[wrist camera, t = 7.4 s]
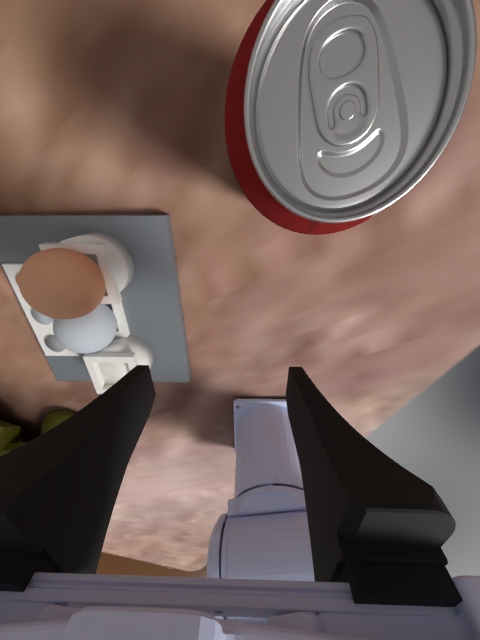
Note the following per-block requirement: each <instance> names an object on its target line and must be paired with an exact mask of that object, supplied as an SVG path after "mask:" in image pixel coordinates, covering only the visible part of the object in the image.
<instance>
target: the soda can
mask: <svg viewBox="0 0 480 640" xmlns="http://www.w3.org/2000/svg"><path fill="white" fill-rule="evenodd" d="M476 51H477V26H476V18H475V10H474V6H473V1H472V0H266V2H265V3H264V4H263V6H262V7H261V8H260V10H259V11H258V13H257V14H256V16H255V17H254V19H253V21H252V22H251V24H250V26H249V27H248V29H247V31H246V33H245V36H244V38H243V40H242V42H241V44H240V47H239V49H238V52H237V54H236V57H235V60H234V63H233V66H232V70H231V74H230V78H229V82H228V88H227V94H226V102H225V136H226V144H227V150H228V155H229V159H230V163H231V166H232V169H233V172H234V174H235V177H236V179H237V181H238V183H239V185H240V187H241V189H242V191H243V192H244V194H245V195H246V197H247V198H248V200H249V201H250V202H251V203H252V205H253V206H254V207H255V208H256V209H257V210H258V211H259V212H260V213H261V214H262V215H263V216H265V217H266V218H267V219H269V220H270V221H272V222H273V223H275V224H276V225H278V226H281V227H283V228H285V229H288V230H290V231H294V232H298V233H303V234H315V235H319V234H329V233H335V232H339V231H343V230H346V229H349V228H351V227H354V226H356V225H358V224H360V223H363V222H364V221H366V220H368V219H370V218H371V217H373V216H374V215H376V214H377V213H379V212H380V211H382V210H383V209H385V208H387V207H389V206H390V205H392V204H393V203H395V202H396V201H398V200H399V199H401V198H402V197H403V196H404V195H406V194H407V193H408V192H409V191H410V190H411V189H412V188H413V187H415V186H416V185H417V184H418V183H419V182H420V181H421V179H422V178H423V177H424V176H425V175H426V174H427V173H428V172H429V170H430V169H431V168H432V167H433V165H434V164H435V163H436V161H437V160H438V159H439V157H440V156H441V154H442V153H443V151H444V150H445V148H446V146H447V145H448V143H449V141H450V139H451V137H452V136H453V134H454V132H455V130H456V128H457V125H458V123H459V121H460V119H461V116H462V114H463V111H464V108H465V105H466V103H467V99H468V96H469V92H470V89H471V85H472V80H473V75H474V69H475V62H476Z"/></svg>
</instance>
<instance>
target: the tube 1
mask: <svg viewBox="0 0 480 640" xmlns="http://www.w3.org/2000/svg"><path fill="white" fill-rule="evenodd" d="M39 247H40V250H41V251H42V250H46V249H50V248H66V249H71V250H75V251H77V252H80V253H82V254H84V255H86V256H87V257H89V258H90V259H91V260H92V261H94V262H95V263H96V264H97V266H98V267H99V268H100V270H101V272H102V274H103V276H104V279H105V294H104V297H103V299H102V301H101V303H100V304H119V303H120V302H121V301H122V298H121V294H120V292H121V291H122V290H124V289H125V288H126V287H127V286H128V285H129V284H130V283H131V281H132V279H133V277H134V262H133V259H132V257H131V255H130V253H129V251H128V250H127V248H126V247H125V246H124V245H123V244H122V243H121V242H120V241H118V240H117V239H116V238H114V237H112V236H110V235H108V234H105V233H101V232H90V233H86V234H83V235H79V236H76V237H72V238H69V239H66V240H63V241H61V242H60V243H43V244H39Z"/></svg>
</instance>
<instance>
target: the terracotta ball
mask: <svg viewBox="0 0 480 640" xmlns="http://www.w3.org/2000/svg"><path fill="white" fill-rule="evenodd" d="M18 285H19V289H20V292H21V295H22V296H23V298H24V299H25V301H26V302H27V303H28V304H29V305H30V306H31V307H32V308H33V309H35V310H36V311H37V312H39V313H41V314H43V315H46V316H48V317H52V318H56V319H75V318H79V317H82V316H85V315H87V314H89V313H90V312H92V311H93V310H95V309H96V308H97V307H98V305H99V304H100V303H101V301H102V299H103V297H104V294H105V279H104V276H103V274H102V272H101V270H100V268H99V267H98V266H97V264H96V263H95V262H94V261H92V260H91V259H90V258H89V257H87V256H86V255H84V254H82V253H80V252H77V251H75V250H71V249H66V248H50V249H46V250H42V251H40V252H37V253H35V254H34V255H32V256H31V257H29V258H28V259H27V260H26V261H25V263H24V264H23V265H22V267H21V269H20V272H19V277H18Z"/></svg>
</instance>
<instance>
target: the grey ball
mask: <svg viewBox="0 0 480 640" xmlns="http://www.w3.org/2000/svg"><path fill="white" fill-rule="evenodd" d="M53 332H54V335H55V338H56V339H57V341H58V342H59V343H60V344H61V345H62V346H63V347H65V348H66V349H68V350H70V351H72V352H76V353H83V354H86V353H93V352H97V351H99V350H102V349H103V348H105V347H106V346H108V345H109V344H110V343H111V342H112V340H113V339H114V337H115V335H116V332H117V319H116V317H115V314H114V313H113V311H112V310H111V309H110V308H109V307H108V306H107V305H105V304H99V305H98V307H97V308H96V309H95V310H93V311H92V312H90V313H89V314H87V315H85V316H82V317H79V318H75V319H56V318H54V321H53Z"/></svg>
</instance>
